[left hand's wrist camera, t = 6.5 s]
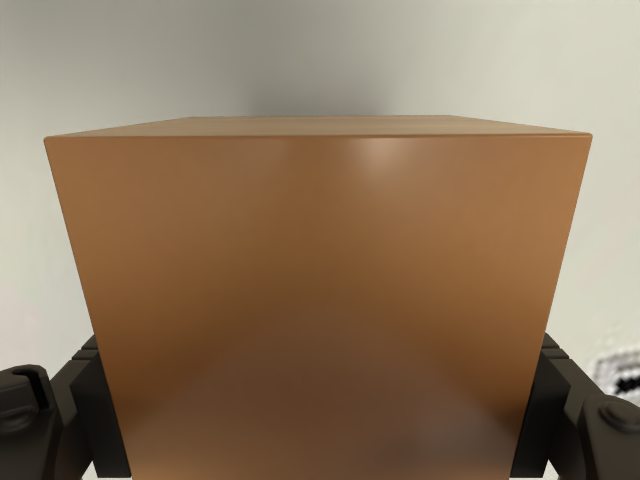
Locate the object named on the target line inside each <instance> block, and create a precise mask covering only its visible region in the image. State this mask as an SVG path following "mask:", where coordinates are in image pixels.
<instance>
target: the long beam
mask: <svg viewBox="0 0 640 480" xmlns="http://www.w3.org/2000/svg"><path fill="white" fill-rule="evenodd" d="M592 138H593V136H592V134H590V133H586V132H578V131H570V130H562V129H554V128H546V127H538V126H530V125H523V124H515V123H507V122H499V121H491V120H483V119H475V118H467V117H459V116H451V115H402V116H264V117H188V118H180V119H173V120H166V121H158V122H151V123H144V124H136V125H129V126H122V127H114V128H107V129H100V130H92V131H85V132H77V133H70V134H63V135H55V136H48V137H45V138H44V144H45V148H46V152H47V156H48V160H49V163H50V167H51V171H52V175H53V179H54V182H55V186H56V190H57V194H58V198H59V201H60V205H61V209H62V213H63V217H64V220H65V224H66V228H67V232H68V236H69V240H70V243H71V247H72V251H73V255H74V259H75V262H76V266H77V270H78V274H79V278H80V281H81V285H82V289H83V293H84V297H85V300H86V304H87V308H88V312H89V316H90V319H91V323H92V327H93V331H94V335H95V338H96V342H97V346H98V350H99V354H100V357H101V361H102V365H103V369H104V373H105V377H106V380H107V384H108V388H109V392H110V396H111V399H112V403H113V407H114V411H115V415H116V418H117V422H118V426H119V430H120V434H121V437H122V441H123V445H124V449H125V453H126V456H127V460H128V464H129V468H130V472H131V475H132V479H133V480H509V477H510V473H511V469H512V465H513V461H514V457H515V453H516V449H517V444H518V440H519V436H520V432H521V428H522V424H523V420H524V416H525V412H526V408H527V404H528V399H529V395H530V391H531V387H532V383H533V379H534V375H535V371H536V367H537V363H538V359H539V354H540V350H541V346H542V342H543V338H544V334H545V330H546V326H547V322H548V318H549V314H550V309H551V305H552V301H553V297H554V293H555V289H556V285H557V281H558V277H559V273H560V269H561V265H562V260H563V256H564V252H565V248H566V244H567V240H568V236H569V232H570V228H571V224H572V220H573V215H574V211H575V207H576V203H577V199H578V195H579V191H580V187H581V183H582V179H583V175H584V170H585V166H586V162H587V158H588V154H589V150H590V146H591V142H592Z"/></svg>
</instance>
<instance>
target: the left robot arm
mask: <svg viewBox="0 0 640 480" xmlns="http://www.w3.org/2000/svg"><path fill="white" fill-rule="evenodd" d="M548 459H549V461H550V462H551V464H552V466H553V467H554V469H555V470H556V472H557V474H558V475H559V476H558V479H557V480H640V408H639V407H638V406H636V405H634V404H632V403H631V402H629V401H626V400H624V399H621V398H618V397H615V396H611V395H605V394H604V393H603V392H602V391H601V390H600V388H599V387H598V386H597V385H596V384H595V383H594V382H593V381H592V380H591V379H590V378H589V377H588V376H587V375H586V374H585V373H584V372H583V371H582V370H581V368H580V367H579V366H578V365H577V364H576V363H575V362H574V361H573V360H572V359H569V356H568V355H567V354H566V353H565V352H564V351H563V349H560V348H559V345H558V344H557V343H556V342H555V341H554V340H553V339H552V338H551V337H550V336H549V335H548V334H547V333H545V334H544V338H543V342H542V346H541V350H540V354H539V359H538V363H537V367H536V371H535V375H534V379H533V383H532V387H531V391H530V395H529V399H528V404H527V408H526V412H525V416H524V420H523V424H522V428H521V432H520V436H519V440H518V444H517V449H516V453H515V457H514V461H513V465H512V469H511V473H510V478H543V475H544V471H545V468H546V465H547V462H548ZM92 461H93V464H94V467H95V470H96V473H97V477H98V478H131V476H132V475H131V472H130V468H129V464H128V460H127V456H126V453H125V449H124V445H123V441H122V437H121V434H120V430H119V426H118V422H117V418H116V415H115V411H114V407H113V403H112V399H111V396H110V392H109V388H108V384H107V380H106V377H105V373H104V369H103V365H102V361H101V357H100V354H99V350H98V346H97V342H96V338H95V335H93V336H92V337H91V338H90V339H89V340H88V341H87V342H86V343H85V344H84V345H83V346H82V347H81V350H79V351H78V352H77V353H76V354H75V355H74V356H73V357H72V360H69V361H68V362H67V363H66V364H65V365H64V366H63V367H62V369H61V370H60V371H59V372H58V373H57V374H56V375H55V376H54V377H53V378H52V379H51V380H50V381H49V378H48V375H47V372H46V369H44V368H43V367H41V366H40V365H30V364H28V365H21V366H15V367H12V368H9V369H6V370H3V371H0V480H83V479H82V476H83V475H84V473H85V471H86V470H87V468H88V466H89V465H90V463H91V462H92Z"/></svg>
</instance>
